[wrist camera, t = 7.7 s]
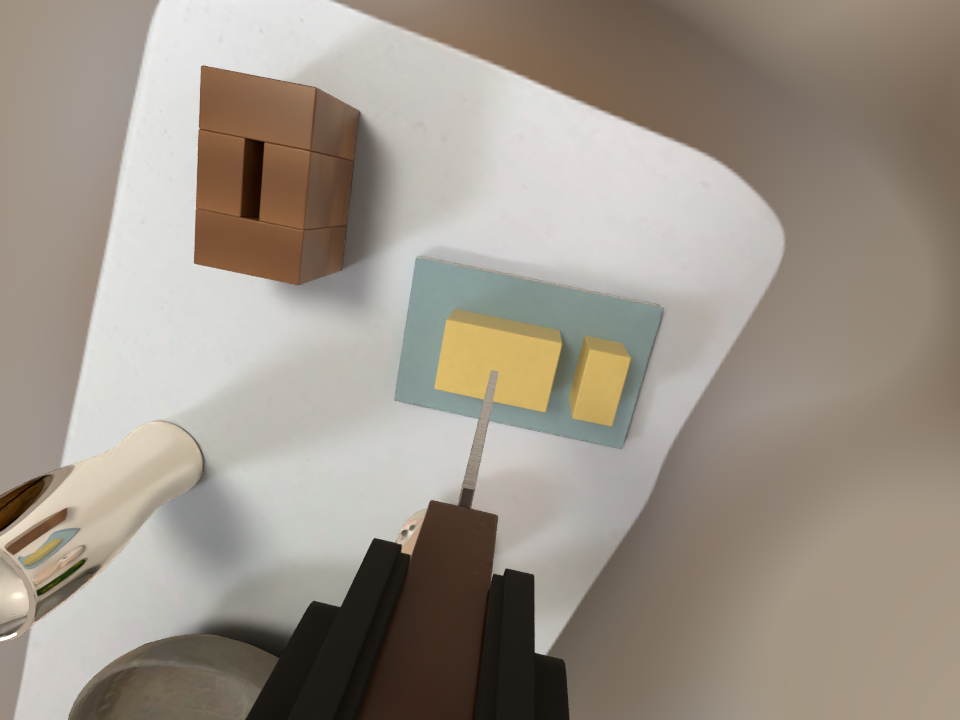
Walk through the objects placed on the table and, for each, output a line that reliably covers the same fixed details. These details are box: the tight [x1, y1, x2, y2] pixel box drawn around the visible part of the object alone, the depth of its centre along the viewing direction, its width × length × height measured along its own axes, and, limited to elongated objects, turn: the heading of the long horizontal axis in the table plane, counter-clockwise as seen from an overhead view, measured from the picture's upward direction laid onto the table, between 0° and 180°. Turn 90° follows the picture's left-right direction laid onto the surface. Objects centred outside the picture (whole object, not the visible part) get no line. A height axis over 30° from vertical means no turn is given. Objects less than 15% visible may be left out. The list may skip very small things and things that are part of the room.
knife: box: [357, 370, 499, 720], centre depth 13 cm, size 3×2×17 cm, turn 169°
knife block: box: [194, 66, 360, 285], centre depth 32 cm, size 10×6×7 cm, turn 169°
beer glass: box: [0, 421, 203, 642], centre depth 34 cm, size 7×7×15 cm
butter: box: [434, 309, 562, 412], centre depth 34 cm, size 4×7×4 cm, turn 79°
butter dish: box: [394, 256, 663, 449], centre depth 36 cm, size 10×16×1 cm, turn 79°
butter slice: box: [569, 336, 631, 426], centre depth 34 cm, size 4×2×4 cm, turn 169°
